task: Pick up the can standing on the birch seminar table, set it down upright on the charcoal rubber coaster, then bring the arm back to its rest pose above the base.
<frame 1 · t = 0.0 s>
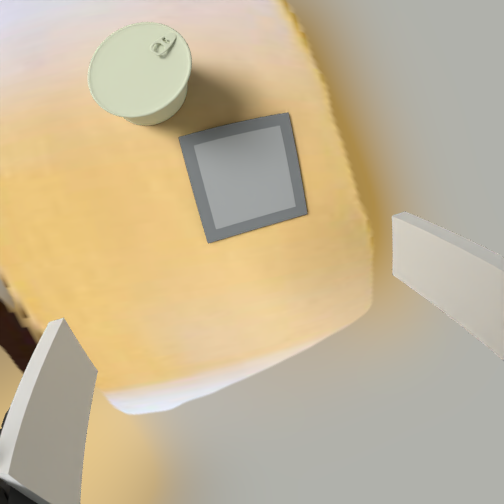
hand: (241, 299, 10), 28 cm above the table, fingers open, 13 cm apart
can: (149, 89, 30), on the table
coaster: (246, 176, 37), on the table
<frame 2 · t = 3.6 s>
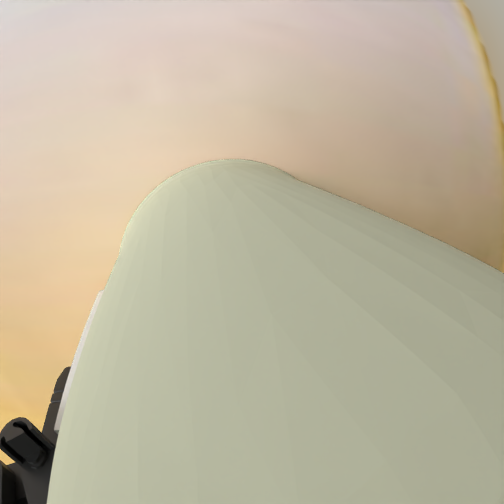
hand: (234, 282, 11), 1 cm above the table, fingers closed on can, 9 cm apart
can: (229, 270, 12), on the table, touching gripper
when the fingers open (3 cm above the table, at t = 9.1 s): can drops 1 cm, resting on coaster.
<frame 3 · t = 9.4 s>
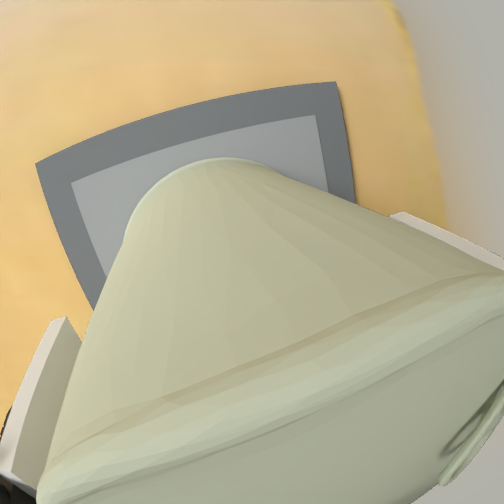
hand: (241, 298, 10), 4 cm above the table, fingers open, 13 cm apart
can: (223, 258, 14), resting on coaster
coaster: (222, 254, 14), on the table
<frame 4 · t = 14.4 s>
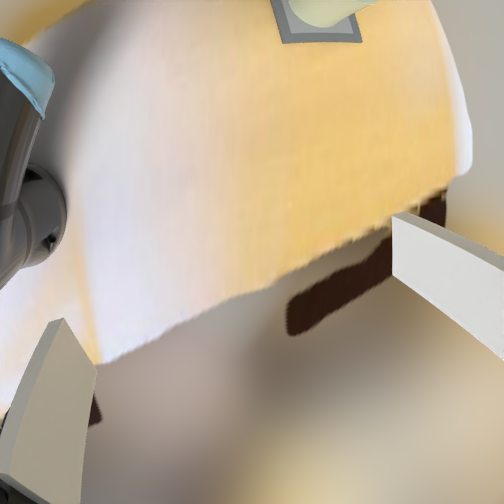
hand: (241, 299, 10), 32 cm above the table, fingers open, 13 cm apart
can: (314, 4, 32), resting on coaster
coaster: (313, 5, 32), on the table
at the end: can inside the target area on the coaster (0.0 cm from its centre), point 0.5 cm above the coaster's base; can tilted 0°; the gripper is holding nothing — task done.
